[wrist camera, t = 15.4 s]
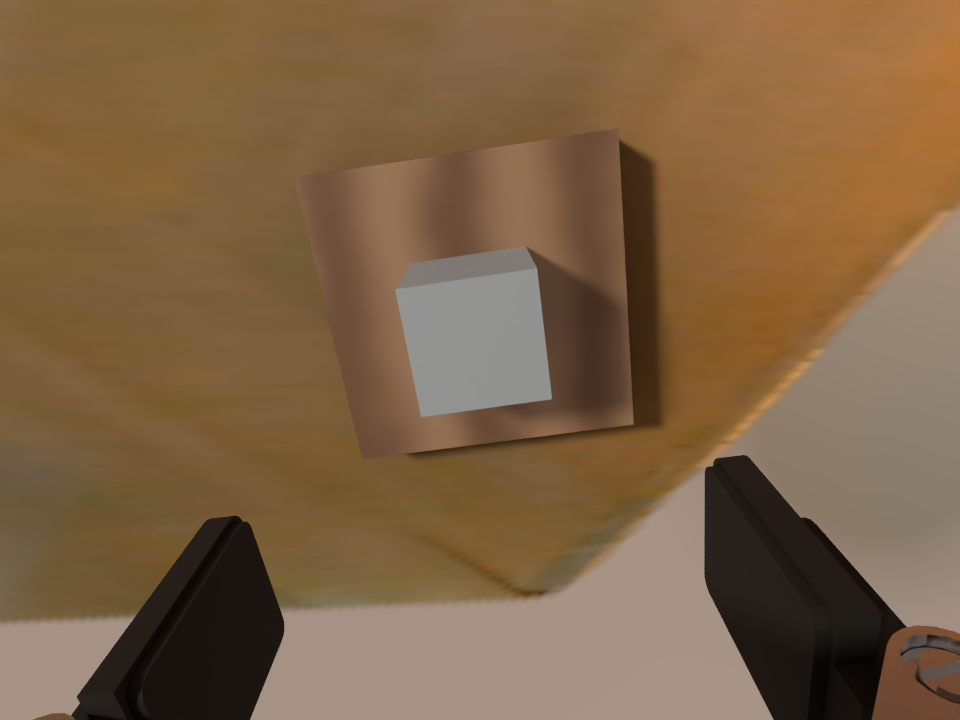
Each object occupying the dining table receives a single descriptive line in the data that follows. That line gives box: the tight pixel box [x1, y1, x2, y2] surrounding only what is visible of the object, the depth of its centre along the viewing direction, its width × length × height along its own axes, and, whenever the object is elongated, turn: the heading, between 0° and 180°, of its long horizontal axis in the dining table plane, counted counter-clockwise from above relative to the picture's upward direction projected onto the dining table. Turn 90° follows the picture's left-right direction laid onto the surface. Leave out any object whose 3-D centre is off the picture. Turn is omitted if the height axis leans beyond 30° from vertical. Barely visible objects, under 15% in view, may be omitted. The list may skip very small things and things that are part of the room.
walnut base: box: [294, 129, 634, 459], centre depth 31 cm, size 16×16×3 cm
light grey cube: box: [395, 246, 552, 417], centre depth 27 cm, size 6×6×6 cm
